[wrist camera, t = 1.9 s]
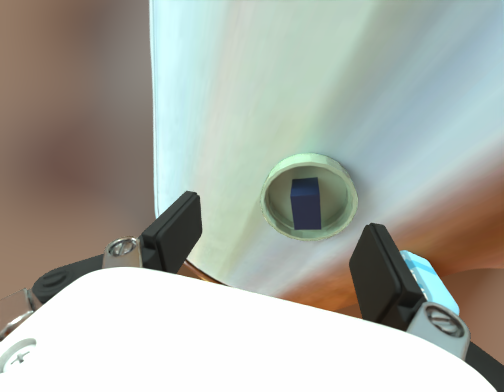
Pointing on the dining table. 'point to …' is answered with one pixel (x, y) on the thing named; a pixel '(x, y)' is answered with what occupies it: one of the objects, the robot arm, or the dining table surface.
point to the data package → (429, 281)
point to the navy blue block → (306, 204)
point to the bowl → (331, 195)
